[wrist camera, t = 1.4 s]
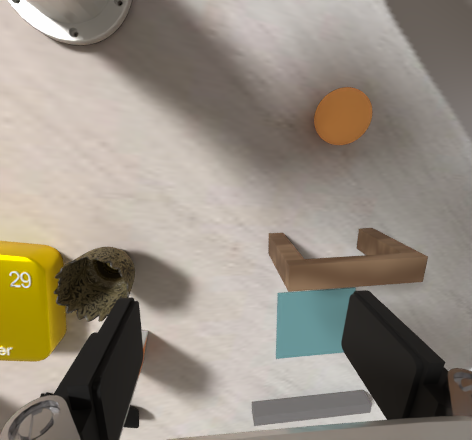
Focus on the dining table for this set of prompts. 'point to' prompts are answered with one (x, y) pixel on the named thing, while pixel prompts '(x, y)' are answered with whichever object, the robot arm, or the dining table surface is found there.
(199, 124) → the dining table surface
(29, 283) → the element tile
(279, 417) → the wall
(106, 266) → the rough textured pot
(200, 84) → the dining table surface
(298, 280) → the bridge
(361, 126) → the ball
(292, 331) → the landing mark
